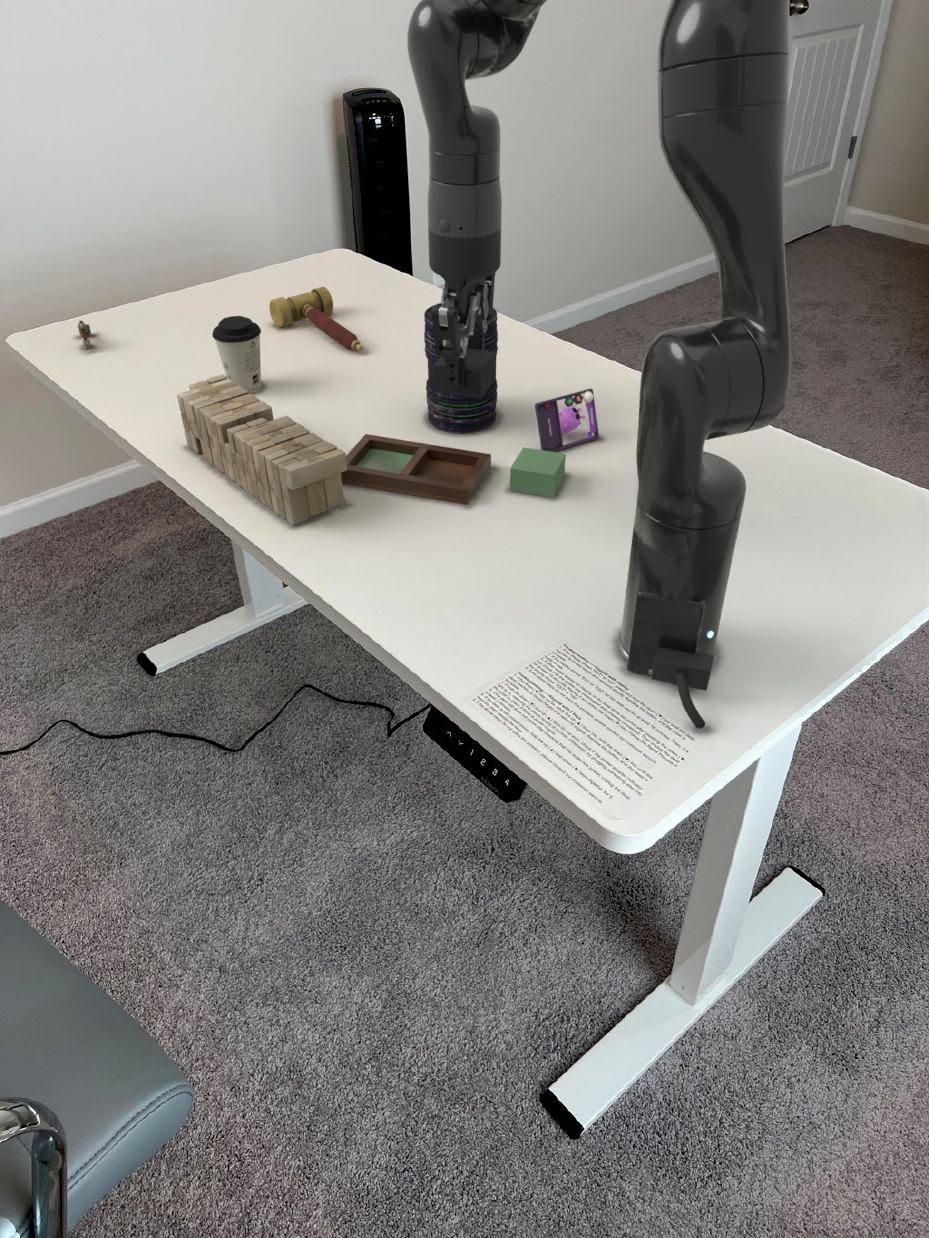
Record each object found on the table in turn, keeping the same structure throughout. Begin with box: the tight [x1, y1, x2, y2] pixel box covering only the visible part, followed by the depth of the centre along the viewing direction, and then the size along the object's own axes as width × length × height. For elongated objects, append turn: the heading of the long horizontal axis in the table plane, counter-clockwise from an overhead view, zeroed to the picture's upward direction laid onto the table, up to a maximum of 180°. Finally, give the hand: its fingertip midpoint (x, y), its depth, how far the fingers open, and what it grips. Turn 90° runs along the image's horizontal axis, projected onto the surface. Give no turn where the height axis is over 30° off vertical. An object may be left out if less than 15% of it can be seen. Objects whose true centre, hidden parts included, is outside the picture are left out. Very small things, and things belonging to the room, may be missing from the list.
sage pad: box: [509, 447, 567, 498], centre depth 120 cm, size 6×6×3 cm
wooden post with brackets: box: [77, 320, 92, 351], centre depth 156 cm, size 2×8×4 cm, turn 21°
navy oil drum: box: [423, 302, 499, 435], centre depth 131 cm, size 10×10×15 cm
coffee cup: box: [212, 315, 262, 394], centre depth 141 cm, size 7×7×10 cm
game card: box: [534, 388, 600, 452], centre depth 129 cm, size 7×5×9 cm
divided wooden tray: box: [341, 433, 492, 506], centre depth 123 cm, size 9×18×2 cm, turn 71°
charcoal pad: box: [433, 348, 497, 399], centre depth 109 cm, size 6×6×3 cm
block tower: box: [176, 374, 347, 526], centre depth 122 cm, size 8×8×29 cm
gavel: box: [269, 286, 364, 352], centre depth 158 cm, size 21×5×10 cm
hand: (465, 375), depth 109 cm, fingers closed on charcoal pad, 5 cm apart
